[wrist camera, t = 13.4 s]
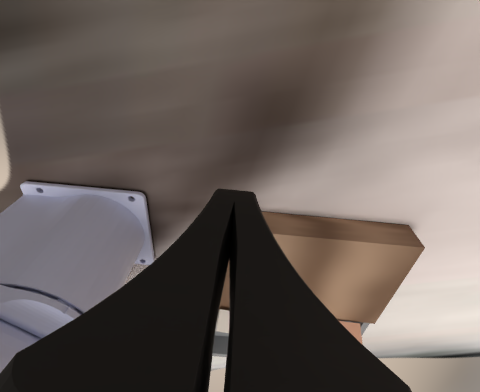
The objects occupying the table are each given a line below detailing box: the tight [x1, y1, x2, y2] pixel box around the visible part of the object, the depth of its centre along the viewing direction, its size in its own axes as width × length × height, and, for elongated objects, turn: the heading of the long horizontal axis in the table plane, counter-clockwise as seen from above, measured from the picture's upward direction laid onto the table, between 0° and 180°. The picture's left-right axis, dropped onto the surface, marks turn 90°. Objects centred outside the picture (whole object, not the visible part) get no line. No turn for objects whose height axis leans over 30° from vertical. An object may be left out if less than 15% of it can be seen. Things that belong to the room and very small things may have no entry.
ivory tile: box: [215, 309, 229, 334], centre depth 26 cm, size 5×5×2 cm
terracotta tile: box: [339, 321, 362, 344], centre depth 27 cm, size 5×5×2 cm
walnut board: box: [219, 212, 425, 324], centre depth 23 cm, size 16×10×2 cm, turn 85°
